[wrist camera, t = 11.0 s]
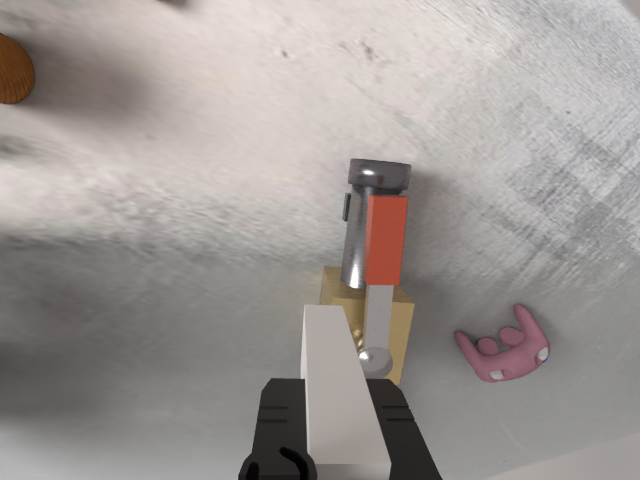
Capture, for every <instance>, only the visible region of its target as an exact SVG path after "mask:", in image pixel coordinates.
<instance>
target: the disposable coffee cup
mask: <svg viewBox="0 0 640 480" xmlns="http://www.w3.org/2000/svg"><path fill="white" fill-rule="evenodd" d="M33 85H34V69H33V65H32V63H31V60H30V58H29V57H28V55H27V54H26V52H25V51H24V50H23V49H22V47H21V46H20V45H19V44H17V43H16V42H15V41H13V40H12V39H10V38H8V37H7V36H5V35H3V34H2V33H0V103H3V104H13V103H17V102H19V101H21V100H23V99H25V98H26V97H27V96H28V95H29V93H30V92H31V90H32V88H33Z"/></svg>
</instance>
